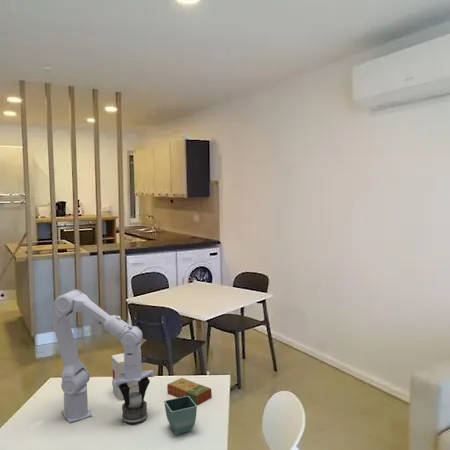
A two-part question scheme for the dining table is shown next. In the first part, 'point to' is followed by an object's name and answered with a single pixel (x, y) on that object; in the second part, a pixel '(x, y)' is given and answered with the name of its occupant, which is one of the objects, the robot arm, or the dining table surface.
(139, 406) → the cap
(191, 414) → the flower pot
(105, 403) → the dining table surface
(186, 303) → the dining table surface
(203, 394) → the carton
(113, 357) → the supplement box
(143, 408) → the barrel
